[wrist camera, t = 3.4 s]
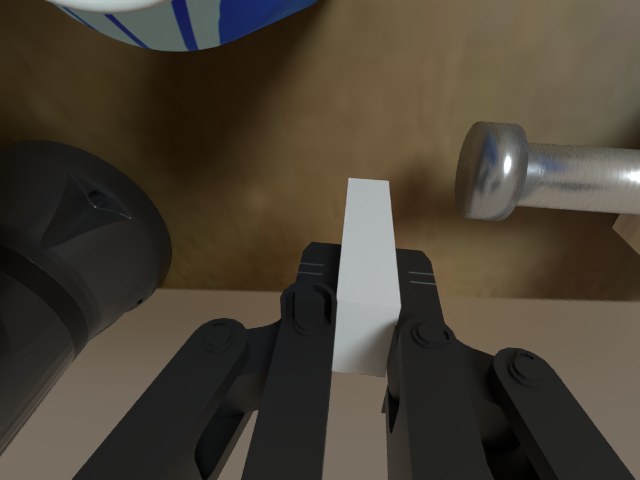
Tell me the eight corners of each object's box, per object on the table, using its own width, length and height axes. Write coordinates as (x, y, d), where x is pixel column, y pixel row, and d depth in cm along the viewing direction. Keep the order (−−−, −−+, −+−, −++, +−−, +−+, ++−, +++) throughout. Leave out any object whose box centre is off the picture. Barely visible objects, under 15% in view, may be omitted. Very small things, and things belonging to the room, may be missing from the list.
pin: (449, 191, 21) (468, 236, 17) (471, 109, 18) (499, 142, 14) (740, 212, 20) (826, 265, 16) (808, 129, 17) (930, 169, 14)
